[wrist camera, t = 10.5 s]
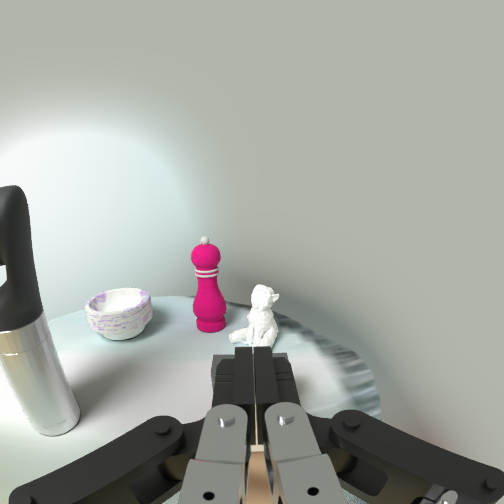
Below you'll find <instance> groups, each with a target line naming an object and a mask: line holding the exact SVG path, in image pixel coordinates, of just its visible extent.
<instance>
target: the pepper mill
mask: <svg viewBox="0 0 504 504" xmlns="http://www.w3.org/2000/svg"><path fill="white" fill-rule="evenodd" d="M208 243H209V238H208V237H206V236H205V237H202V238H201V245H198V246H196V247H195V248H194V249H193V251H192V254H191V260H192V262H193V264H194V265H195V266H196V268H195V275H196V276H197V278H198V291H197V295H196V297H195V299H194V303H193V312H194V314H195V315H196V317H198V318H197V320H196V321H197V328H198V329H199V330H200V331H203V332H217V331H220V330H222V329H223V328H224V327H225V317H224V316H223V315H224V314H225V312H226V303H225V300H224V298H223V296H222V294H221V292H220V290H219V288H218V285H217V275H218V274H219V271H218V269H219V267H218V266H217V264H218V263H219V261H220V258H221V257H220V252H219V250H218V248H217V247H216V246H214V245H211V244H208Z"/></svg>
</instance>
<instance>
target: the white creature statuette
mask: <svg viewBox="0 0 504 504" xmlns="http://www.w3.org/2000/svg"><path fill="white" fill-rule="evenodd" d="M251 296H252V298H251V299H252V300H251V302H252V304H253V305H252V306H253V307H252V308H251V311H250V313H249V314H248V316H247V318H248V321H249V326H248V327H246V328H243V329H238V330H235V331H234V332H232V333H230V334H229V338H230V341H231V342H232V343H239V342H242V343H245V344H247V345H248V344H249V346H251V345H253V348H254V347H256V346H271V347H272V346H273V343H274V341H275V339H276V337H277V333H278V326H277V324H276V322H275V320H274V318H273V315H274V314H273V313H272V311H271V309H270V308H269V307H271V306H272V304H273V303H274V301H276V300H277V299H278V298H279V294H275V293H274V291H273V289H271V288H270V287H266V286H264V285H257V286H256V287H255V288H254V290H253V293H252V294H251Z"/></svg>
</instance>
